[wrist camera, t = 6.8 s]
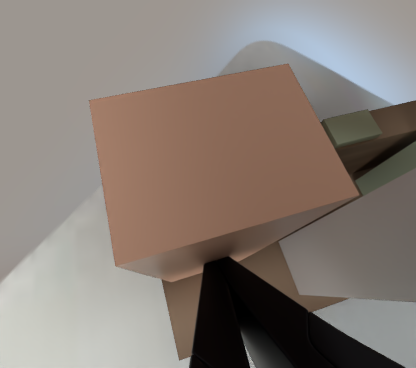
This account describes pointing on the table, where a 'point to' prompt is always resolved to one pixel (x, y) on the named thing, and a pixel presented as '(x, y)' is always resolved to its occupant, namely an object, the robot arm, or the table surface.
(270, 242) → the salmon brown block
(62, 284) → the table surface
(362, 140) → the keypad base
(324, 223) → the light grey tall block
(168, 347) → the table surface
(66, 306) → the table surface
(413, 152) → the sage key
